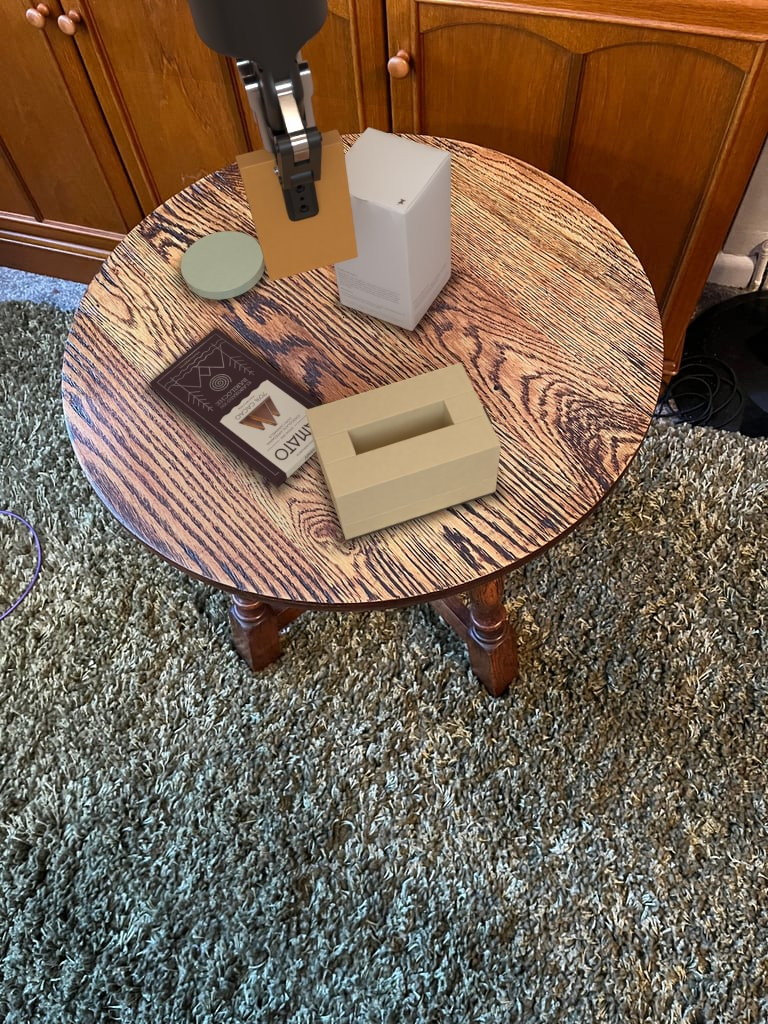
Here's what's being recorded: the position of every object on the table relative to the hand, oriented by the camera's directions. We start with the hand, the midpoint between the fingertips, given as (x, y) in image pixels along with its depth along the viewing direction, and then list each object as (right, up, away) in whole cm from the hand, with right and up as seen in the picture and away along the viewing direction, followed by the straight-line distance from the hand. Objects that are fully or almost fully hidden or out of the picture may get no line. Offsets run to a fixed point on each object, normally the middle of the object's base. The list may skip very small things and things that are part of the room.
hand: (300, 206), depth 54 cm
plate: (-12, +5, +30) cm, 32 cm away
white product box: (+7, +2, +27) cm, 28 cm away
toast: (0, -3, +5) cm, 5 cm away
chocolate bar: (-8, -11, +21) cm, 25 cm away
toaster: (+8, -18, +16) cm, 25 cm away
